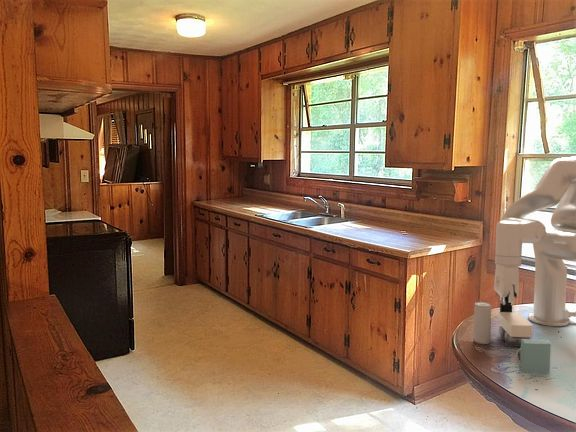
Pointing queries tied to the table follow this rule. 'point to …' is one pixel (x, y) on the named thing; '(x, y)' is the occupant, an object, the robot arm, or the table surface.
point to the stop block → (535, 356)
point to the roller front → (513, 340)
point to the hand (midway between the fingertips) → (505, 316)
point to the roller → (519, 353)
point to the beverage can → (482, 322)
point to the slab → (515, 324)
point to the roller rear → (502, 332)
